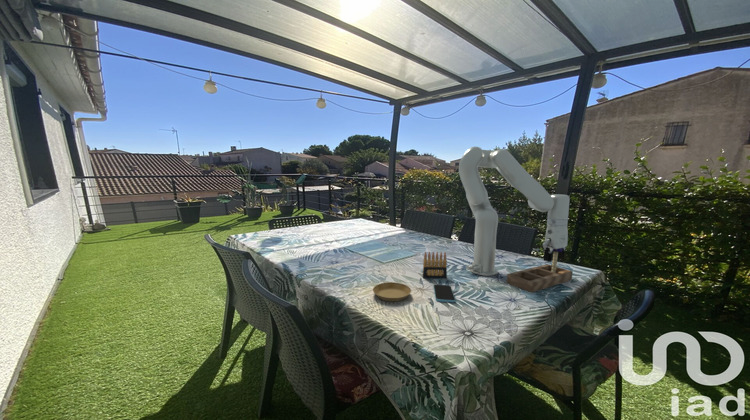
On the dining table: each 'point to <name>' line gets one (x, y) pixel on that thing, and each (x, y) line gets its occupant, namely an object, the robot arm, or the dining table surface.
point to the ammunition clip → (434, 266)
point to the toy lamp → (555, 259)
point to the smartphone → (443, 293)
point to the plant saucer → (392, 291)
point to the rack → (538, 278)
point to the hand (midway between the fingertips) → (553, 259)
